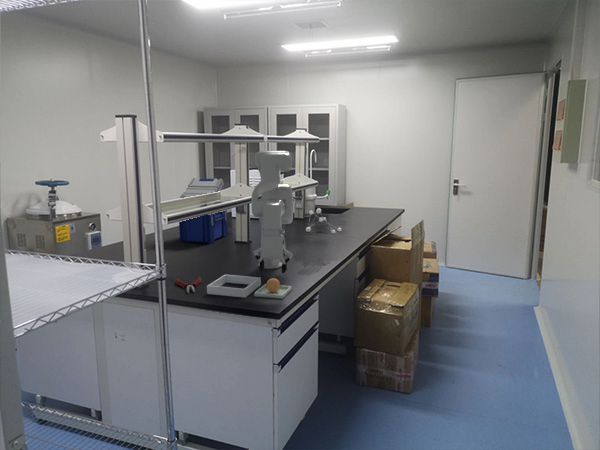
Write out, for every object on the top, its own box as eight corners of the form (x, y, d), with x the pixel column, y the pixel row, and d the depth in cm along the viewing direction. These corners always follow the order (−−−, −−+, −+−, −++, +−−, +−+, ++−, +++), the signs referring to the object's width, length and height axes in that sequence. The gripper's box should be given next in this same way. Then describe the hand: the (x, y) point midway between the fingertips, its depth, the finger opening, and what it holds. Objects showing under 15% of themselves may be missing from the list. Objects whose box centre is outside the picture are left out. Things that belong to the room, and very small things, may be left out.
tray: (264, 287, 201) (264, 283, 200) (291, 289, 197) (291, 286, 197) (254, 296, 189) (254, 292, 189) (282, 299, 185) (282, 295, 185)
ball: (269, 289, 197) (268, 276, 195) (282, 290, 195) (281, 276, 194) (264, 293, 191) (263, 280, 190) (277, 294, 189) (277, 281, 188)
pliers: (177, 296, 190) (177, 290, 190) (175, 282, 209) (175, 277, 209) (204, 293, 194) (204, 288, 193) (201, 280, 213) (200, 275, 212)
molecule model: (307, 232, 332) (310, 208, 334) (341, 235, 327) (343, 210, 328) (303, 231, 319) (306, 206, 320) (338, 234, 313) (341, 208, 314)
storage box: (209, 244, 285) (207, 181, 278) (177, 243, 291) (173, 180, 284) (228, 235, 313) (227, 178, 306) (198, 234, 319) (196, 177, 311)
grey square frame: (225, 281, 209) (225, 274, 208) (260, 284, 204) (260, 277, 203) (207, 293, 192) (206, 285, 192) (245, 297, 187) (245, 289, 187)
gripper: (294, 231, 189) (295, 270, 193) (256, 229, 194) (257, 267, 198) (289, 235, 182) (289, 275, 186) (249, 232, 187) (250, 272, 191)
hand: (273, 271), depth 192 cm, fingers open, 9 cm apart
